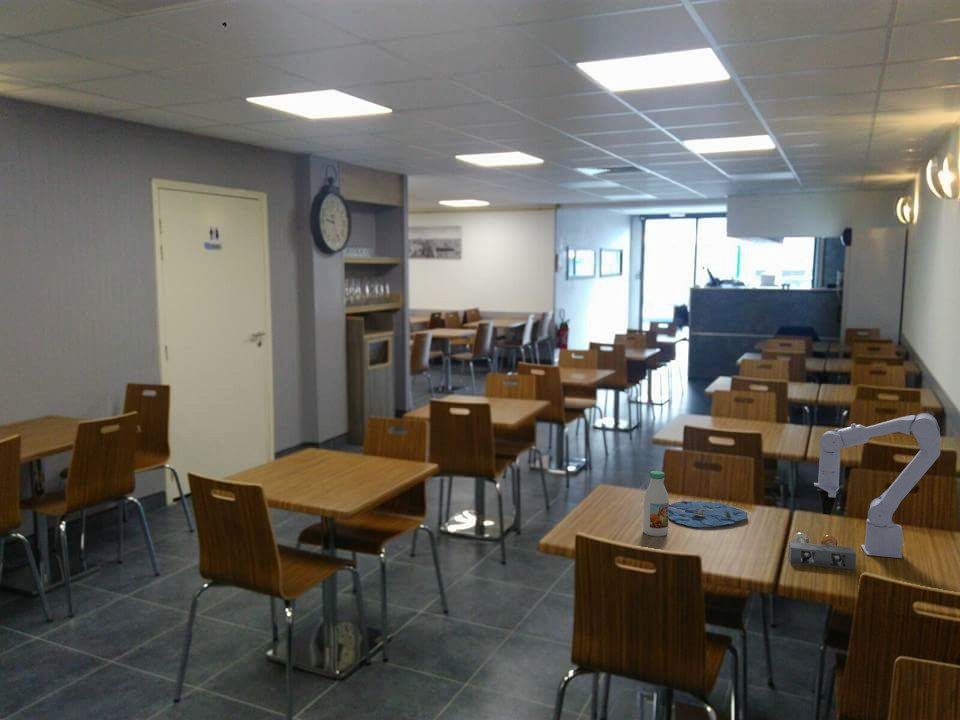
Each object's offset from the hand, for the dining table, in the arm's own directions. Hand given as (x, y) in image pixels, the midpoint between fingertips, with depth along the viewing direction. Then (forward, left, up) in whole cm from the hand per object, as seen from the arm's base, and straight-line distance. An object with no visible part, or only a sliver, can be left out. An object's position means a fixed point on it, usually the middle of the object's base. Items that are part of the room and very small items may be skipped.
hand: (826, 513), depth 229 cm
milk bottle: (+51, +5, -10) cm, 52 cm away
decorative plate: (+36, -17, -10) cm, 41 cm away
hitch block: (+4, +18, -9) cm, 21 cm away
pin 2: (0, +12, -9) cm, 15 cm away
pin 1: (+8, +12, -9) cm, 17 cm away
